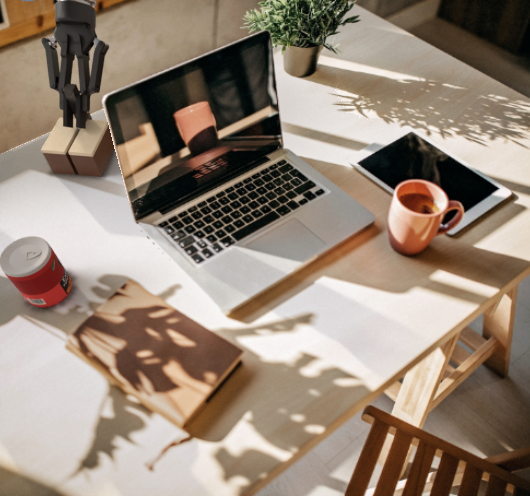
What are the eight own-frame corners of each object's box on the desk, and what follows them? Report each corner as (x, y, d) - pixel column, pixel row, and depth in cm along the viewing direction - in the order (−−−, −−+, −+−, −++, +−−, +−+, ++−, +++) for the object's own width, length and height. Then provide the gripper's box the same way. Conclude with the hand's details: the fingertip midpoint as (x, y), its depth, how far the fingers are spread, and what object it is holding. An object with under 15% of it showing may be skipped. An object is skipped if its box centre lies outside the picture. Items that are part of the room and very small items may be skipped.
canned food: (80, 294, 87) (56, 258, 78) (35, 317, 84) (6, 283, 75) (64, 264, 91) (40, 227, 82) (21, 286, 88) (-8, 250, 79)
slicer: (92, 132, 111) (70, 77, 99) (101, 132, 110) (79, 77, 99) (83, 150, 107) (59, 96, 96) (91, 151, 107) (68, 96, 95)
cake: (70, 141, 110) (59, 117, 105) (117, 145, 109) (108, 120, 104) (53, 173, 104) (40, 149, 99) (102, 177, 103) (91, 153, 98)
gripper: (28, -4, 94) (28, 123, 98) (104, 0, 92) (101, 128, 96) (50, 9, 101) (49, 126, 105) (120, 12, 100) (117, 131, 104)
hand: (74, 127), depth 101 cm, fingers closed on slicer, 2 cm apart
